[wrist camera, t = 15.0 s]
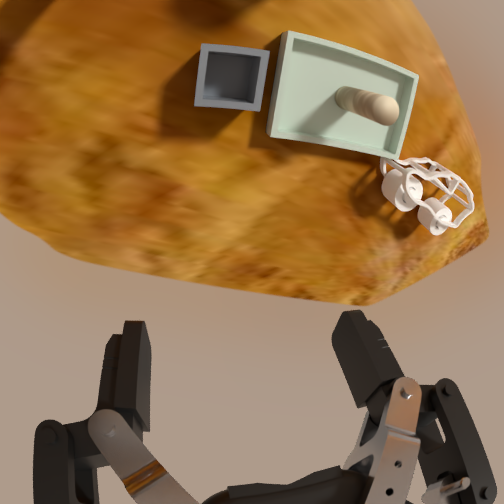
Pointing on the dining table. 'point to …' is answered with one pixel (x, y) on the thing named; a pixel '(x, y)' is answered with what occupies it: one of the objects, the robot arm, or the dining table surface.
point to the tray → (323, 96)
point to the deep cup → (231, 77)
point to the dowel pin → (368, 105)
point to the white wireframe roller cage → (410, 192)
